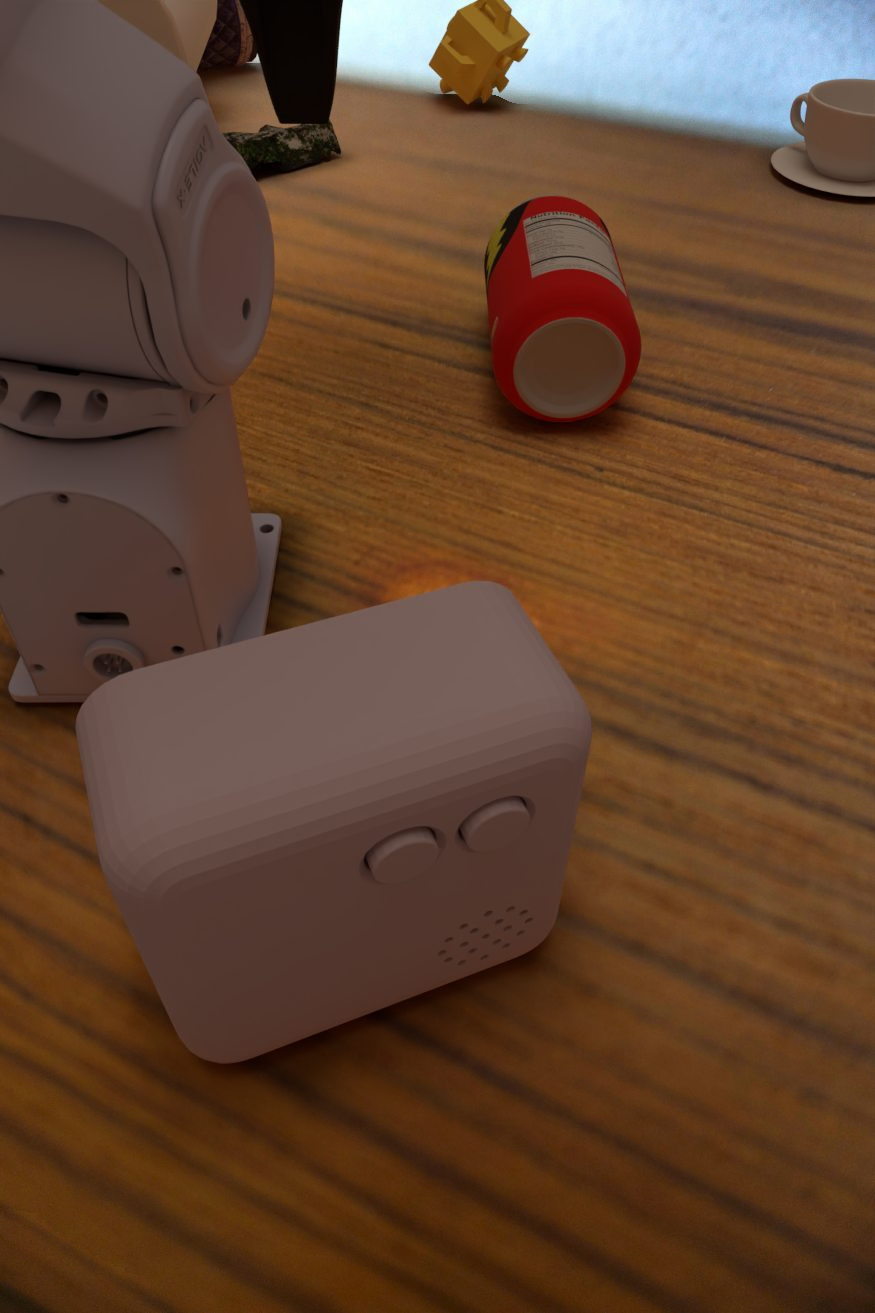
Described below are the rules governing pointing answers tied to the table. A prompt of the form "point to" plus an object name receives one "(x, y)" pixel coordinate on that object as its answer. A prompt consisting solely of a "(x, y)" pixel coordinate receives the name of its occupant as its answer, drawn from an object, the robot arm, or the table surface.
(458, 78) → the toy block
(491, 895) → the electronic device
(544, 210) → the beverage can
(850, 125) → the teacup
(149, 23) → the cup
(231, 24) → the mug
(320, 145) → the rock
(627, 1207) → the table surface
